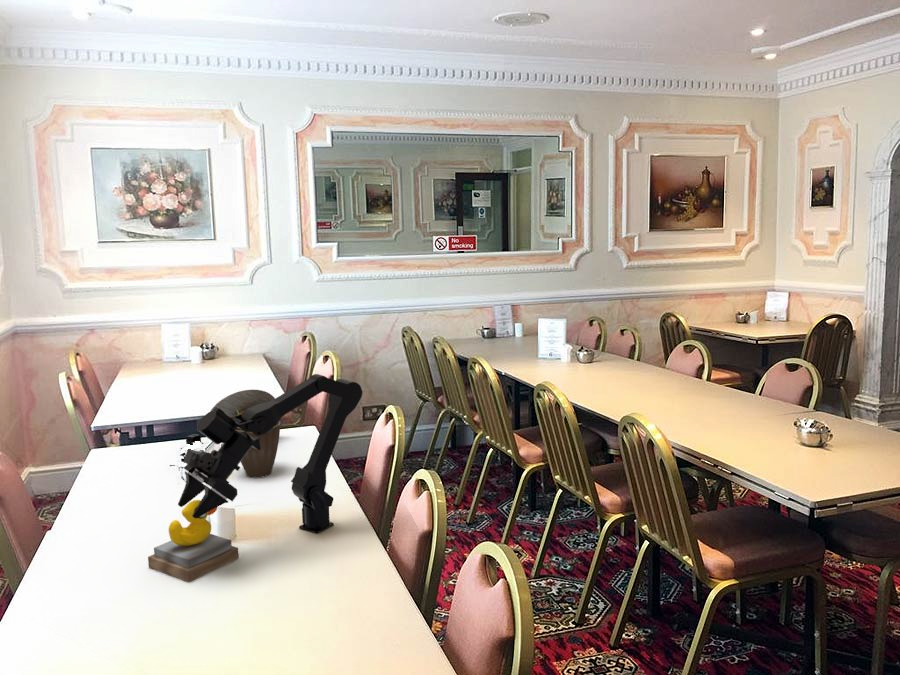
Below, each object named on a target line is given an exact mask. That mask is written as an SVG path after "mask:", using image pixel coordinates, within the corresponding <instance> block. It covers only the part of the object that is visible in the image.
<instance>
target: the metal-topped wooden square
mask: <svg viewBox="0 0 900 675" xmlns="http://www.w3.org/2000/svg"><path fill="white" fill-rule="evenodd" d="M153 552H154V553H153V554H151V555H149V556H147V561H148V562H147V563H148V568H150V569H152V570H155V571H158V572H160V573H164V574H166V575H169V576H172V577H174V578H176V579H179V580H183V581H186V582H188V583H190V582H192V581H194V580H196V579H199V578H200V577H202V576H204V575H207V574H209V573H210V572H212V571H215V570H217V569H219V568H221V567H224V566H225V565H227V564H229V563H231V562H233V560H234V561H235V560H238V559H239V558H240V557H239V547H236V546H233V544H232V540H231V539H228V538H225V537H222V536H219V535H216V534H213V533H210V534H209V536H208V537H207V538H206V539H205V540H204V541H203V542H202V543H199V544H195V545H191V546H181V545H177V544H175V543H174V542H172V540H171V539H170V541H167V542H164V543H162V544H160V545H157V546H155V547H153ZM206 573H207V574H206Z"/></svg>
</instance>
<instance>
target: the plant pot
mask: <svg viewBox="0 0 900 675" xmlns="http://www.w3.org/2000/svg"><path fill="white" fill-rule="evenodd" d="M235 430H236V431H238V432H239V433H241V432H245V431H243V430H241V429H239V428H237V427H236V429H235ZM280 432H281V420H279V422H278V424H277V425H276V426H275V427H273V428H272V429H271V430H270V431H269V432H268V433H266V434H264V435H261V436H260V435H255V434H253V433H251V432H246V433H247V434H248V435H250V436H251V437H252V438H254V437H257V438H259V439H260V447H261V450H257V449H255V448H253V447H251V449H250V450H249V451H248V452H247V454H246V455H245V456H244V458H243V459H242V460H241V462H240V463H241V465H242V468H243V470H244V472H245V474H246V476H247V477H248V476H249V478H252V477H259V478H263V477H262V476H264V477H266V476H270V475H271V473H272V472H273V468H274V465H275V461H276V457H277V454H278V453H277V451H278V448H279V443H280V434H281V433H280ZM269 474H270V475H269Z"/></svg>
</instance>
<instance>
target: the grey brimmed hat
mask: <svg viewBox="0 0 900 675" xmlns="http://www.w3.org/2000/svg"><path fill="white" fill-rule="evenodd" d="M274 399H276V397H275V396H273V395H272V394H271V393H270V392H267V391H266V390H260V389H245V390H244V389H243V390H241V391H236V392H234V393H232V394H229V395H227V396H225V397H224V398H222V399H220V400H219V401H218V402H216V404H215V405H214V406H213V407H212V408H211V409H210V411H213V410H214V409H215V407H218V408H220V409H221V410H222V411H224V413H225V414H226V415H227V416H229V417H233V416H236V415H239V414H242V413H243V411H245V410H246V409H248V408H250V407H252V406H255V405H258V404H261V403H266V402H269V401H272V400H274Z"/></svg>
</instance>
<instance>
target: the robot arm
mask: <svg viewBox="0 0 900 675" xmlns="http://www.w3.org/2000/svg"><path fill="white" fill-rule="evenodd" d="M323 392H324V393H326V394H328V400H327V401H328V412H327V414H326V416H325V418H324V422H323V424H322V427H321V429H320V432H319V434H318V437H317V439H316V442H315V445H314V447H313V450H312V452H311V454H310V457H309V459H308V462H307V463H306V464H305V465H304V466H303V467H299V466H297V467H296V469H295V472H294V476H293V478H292V479H291V481H290V482H291V483H292V484H291V490H292V493H293V495H294V496H295V497H297V498H298V501H300V503H302V508H301V518H302V524H301V525H299V526H298V528H299V529H301V530H304V531H307V532H311V533H315V534H319V533H321V532H324V531H325V530H327V529H330V528H331V527H333V526H334V525H335V522H332V521H331V520H330V507H332V506H333V502H334V497H333V496H332V495H330V494H329V493H328V492H326V491H325V490H326V486H327V468H328V465H329V462H330V460H331V457H332V455H333V452H334V451H335V447H336V445H337V442H338V440H339V437H340V434H341V431H342V429H343V428H344V425H345V422H346V420H347V418H348V416H349V415H350V414H351V413H352V412H353V411H354V410H356V407H357V406H358V404H359V402H361V399H362V396H363V392H364V391H363V389H362V386H361V385H360V384H359V383H358V382H356V381H353V380H352V381H351V380H349V379H345V378H339V379H336V380H335V379H332V378H329V377H327V376H325V375H321V374H318V373H315V374H314V373H313V374H312V375H310V376H309V377H308V378H307V379H306V380H304V381H302V382H300V383H299V384H297V385H296V386H294V387H292V388H290V389H289V390H287V391H286V392H284V393H282V394H280V395H279V396H278V397H275V399H274V400H272V401H269V402H266V403H261V404H258V405H255V406H252V407H250V408H248V409H246V410H245V411H243V413H242V414H239V415H236V416H233V417H229V416H227V415H226V414H225V413H224V411H222V410H221V409H220V408H218V407H215V409H214V410H213V411H211V410H210V411H209V412H207V413H206V414H205V415H203V416H202V417H201V418H200V420H199V421H198V423H197V425H196V430H197V431H198V432H199V433H200V434H202V435H203V436H204V437H205V438H207V439H209V440H210V441H211V442H212V443H213V444H215V445H219V444H222V445H221V446H220V447H219V449H218V450H216V449H213V450H211V451H210V452H209V451H208V452H206V451H204V450H203V451H199V450H196V449H194V450H191V449H188V450H187V451H186V453H185V457H184V459H183V461H182V462H183V463H184V464H186V466H184V470H186V471H184V475H185V479H186V483H185V486H184V487H183V488H184V489H183V491H182V494H181V496H180V498H179V501H178V503H177V505H178V506H179V507H180V508H183V507H185V505H186V506H187V505H188V504H189V503H190V502H192V501H193V500H194V498H196V497H197V496H198V495H199V494H201V493H202V492H204V495H203V497H202V499H200V500H201V501H200V503H199V505H198V506H197V508H196V510H195V511H194V513H193V515H192V517H194V518H195V519H196V518H198V517H200V516H202V515H203V514H205V513H207V512H209V511H210V510H212V509H214V508H216V507H217V508H218V507H220V506H221V505H224V504H227V503H230V502H229V501H231V502H234V500H235V499H236V497H237V496H238V489H237V488H236V487H235V486H233V485H232V484H230V481H228V479H229V478H230V476H231V475H232V473H233V472H234V471H237V472H238V471H239V470H240V469H241V466H239V464H240V463H241V460H242V459H243V458H244V456H245V455H246V454H247V452H248V451H249V450H250V449H251V447H253V448H255V449H257V450H261V447H260V439H259V438H257V437H254V438H252V437H251V436H250V435H248V434H247V433H246V432H251V433H253V434H255V435H260V436H261V435H264V434H266V433H268V432H269V431H270V430H271V429H272V428H273V427H275V426H276V425H277V424H278V422H279V421H281V419H282V418H283V417H284V416H286V415H287V414H289V413H290V412H292V411H294V410H295V409H297V408H299V407H300V406H302V405H303V404H305V403H306V402H308V401H310V400H311V399H313V398H315V397H316V396H317V395H319V394H321V393H323ZM236 427H237V428H239V429H241V430H243V431H245V432H241V433H239V432H238V431H236V430H235V429H236ZM207 485H208V486H207Z"/></svg>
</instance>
